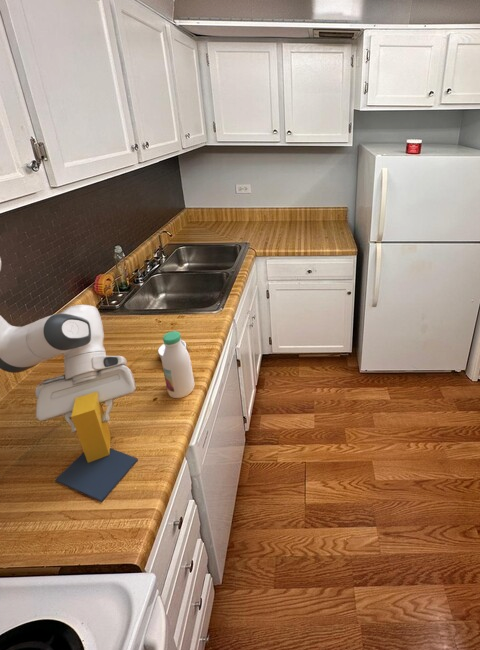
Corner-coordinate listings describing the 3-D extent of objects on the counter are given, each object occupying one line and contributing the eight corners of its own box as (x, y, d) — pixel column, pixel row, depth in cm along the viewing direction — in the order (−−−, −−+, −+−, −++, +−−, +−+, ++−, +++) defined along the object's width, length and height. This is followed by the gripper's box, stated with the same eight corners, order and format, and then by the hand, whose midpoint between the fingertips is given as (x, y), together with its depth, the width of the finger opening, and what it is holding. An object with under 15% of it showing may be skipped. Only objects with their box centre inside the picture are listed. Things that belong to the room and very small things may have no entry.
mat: (55, 481, 76) (54, 479, 76) (94, 443, 85) (94, 441, 85) (101, 502, 72) (101, 500, 72) (138, 460, 81) (137, 458, 80)
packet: (90, 442, 84) (75, 397, 79) (111, 435, 86) (97, 391, 81) (87, 463, 79) (71, 416, 74) (109, 455, 81) (94, 409, 76)
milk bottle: (195, 378, 106) (187, 325, 99) (193, 396, 99) (184, 341, 92) (170, 382, 104) (159, 329, 97) (166, 401, 97) (154, 345, 90)
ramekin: (191, 359, 114) (189, 349, 112) (164, 370, 109) (161, 359, 107) (183, 346, 121) (181, 336, 119) (157, 355, 116) (155, 345, 114)
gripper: (29, 381, 77) (31, 446, 72) (129, 354, 85) (136, 411, 81) (40, 383, 82) (42, 443, 78) (133, 358, 91) (140, 411, 86)
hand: (91, 426), depth 79 cm, fingers closed on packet, 4 cm apart
